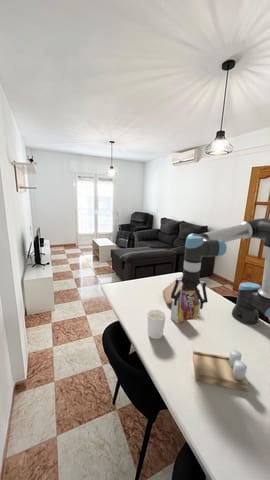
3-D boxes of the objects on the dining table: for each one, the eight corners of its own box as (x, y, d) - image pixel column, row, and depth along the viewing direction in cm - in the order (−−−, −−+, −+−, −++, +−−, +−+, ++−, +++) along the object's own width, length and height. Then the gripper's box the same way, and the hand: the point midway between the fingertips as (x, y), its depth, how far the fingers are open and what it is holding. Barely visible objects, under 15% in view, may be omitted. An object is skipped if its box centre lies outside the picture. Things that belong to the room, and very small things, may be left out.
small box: (177, 324, 117) (179, 304, 114) (170, 318, 122) (171, 299, 119) (187, 320, 121) (189, 300, 118) (179, 314, 126) (181, 296, 124)
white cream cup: (149, 341, 102) (151, 321, 99) (144, 329, 111) (145, 310, 108) (167, 338, 104) (168, 318, 102) (160, 327, 114) (161, 308, 111)
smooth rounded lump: (241, 373, 82) (244, 361, 81) (245, 382, 78) (248, 370, 77) (230, 371, 83) (232, 359, 81) (234, 380, 79) (236, 368, 77)
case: (161, 293, 154) (163, 274, 151) (187, 293, 155) (189, 275, 152) (166, 308, 134) (168, 286, 131) (196, 308, 135) (199, 287, 132)
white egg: (237, 362, 88) (239, 350, 87) (240, 370, 84) (242, 358, 82) (227, 360, 89) (229, 348, 87) (229, 368, 84) (231, 356, 83)
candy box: (193, 314, 98) (196, 286, 95) (197, 319, 94) (200, 290, 91) (176, 315, 97) (179, 286, 94) (179, 320, 93) (182, 291, 90)
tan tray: (237, 364, 89) (238, 359, 89) (247, 391, 77) (249, 385, 76) (192, 356, 93) (193, 351, 92) (195, 381, 81) (196, 374, 80)
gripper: (215, 268, 92) (209, 311, 97) (167, 264, 96) (164, 305, 101) (218, 275, 85) (212, 320, 89) (167, 269, 89) (164, 313, 94)
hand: (187, 312), depth 95 cm, fingers closed on candy box, 9 cm apart
